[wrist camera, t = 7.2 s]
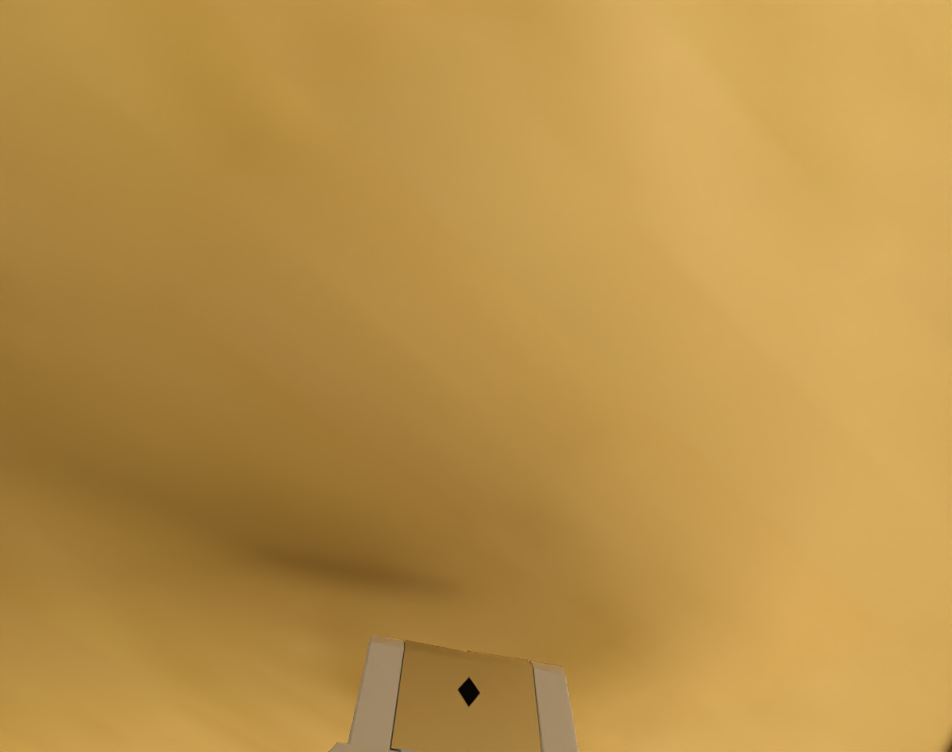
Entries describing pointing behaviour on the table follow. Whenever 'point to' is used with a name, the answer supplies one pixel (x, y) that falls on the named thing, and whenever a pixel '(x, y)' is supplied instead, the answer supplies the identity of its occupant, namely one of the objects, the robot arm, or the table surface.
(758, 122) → the table surface
